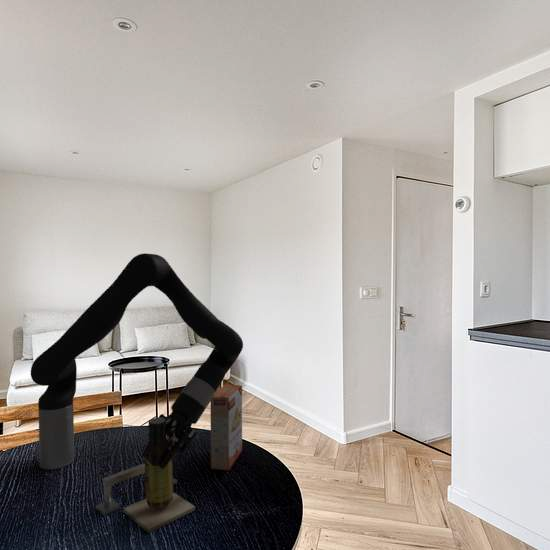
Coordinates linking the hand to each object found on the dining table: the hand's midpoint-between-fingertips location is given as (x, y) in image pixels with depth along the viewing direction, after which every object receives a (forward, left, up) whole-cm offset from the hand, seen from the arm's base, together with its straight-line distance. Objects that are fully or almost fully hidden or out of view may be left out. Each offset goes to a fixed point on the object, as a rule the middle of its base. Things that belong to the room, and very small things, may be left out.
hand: (152, 462), depth 97 cm
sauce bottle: (0, +2, -11) cm, 11 cm away
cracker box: (-9, +30, -12) cm, 33 cm away
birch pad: (0, +2, -12) cm, 12 cm away
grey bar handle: (-10, +2, -12) cm, 16 cm away
